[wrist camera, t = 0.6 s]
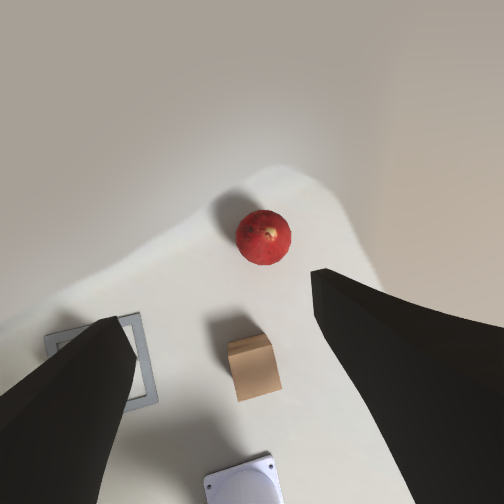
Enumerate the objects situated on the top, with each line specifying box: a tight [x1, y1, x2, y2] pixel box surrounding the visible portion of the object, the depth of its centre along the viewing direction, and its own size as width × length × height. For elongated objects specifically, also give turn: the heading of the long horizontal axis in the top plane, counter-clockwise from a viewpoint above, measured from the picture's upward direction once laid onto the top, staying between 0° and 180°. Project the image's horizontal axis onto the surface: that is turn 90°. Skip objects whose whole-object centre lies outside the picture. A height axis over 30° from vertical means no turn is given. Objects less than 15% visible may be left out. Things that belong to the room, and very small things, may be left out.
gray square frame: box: [44, 313, 159, 413], centre depth 27 cm, size 10×10×1 cm
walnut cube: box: [228, 333, 282, 402], centre depth 27 cm, size 4×4×4 cm
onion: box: [236, 210, 291, 265], centre depth 26 cm, size 6×6×8 cm
